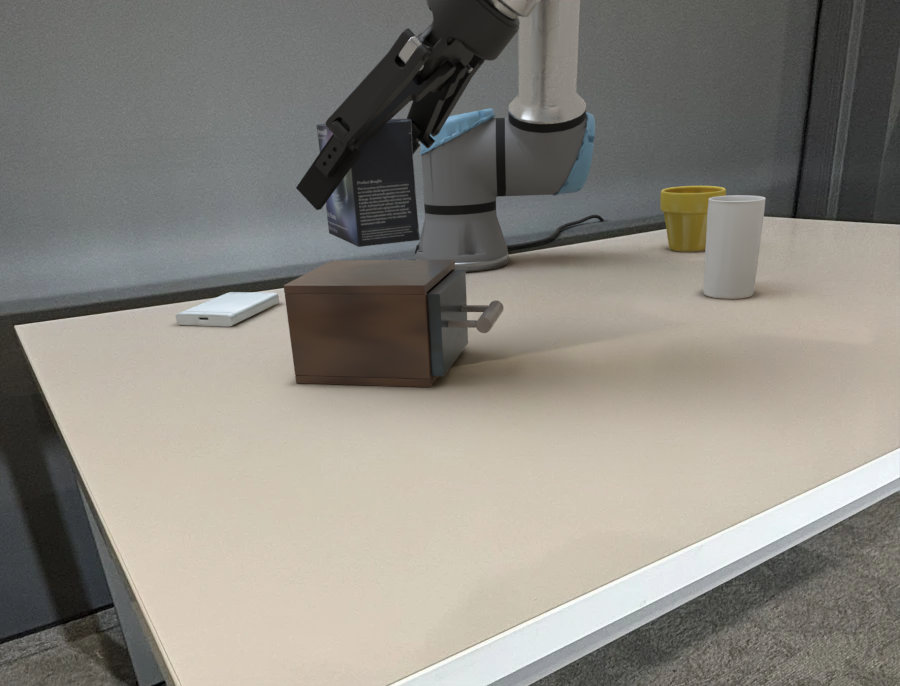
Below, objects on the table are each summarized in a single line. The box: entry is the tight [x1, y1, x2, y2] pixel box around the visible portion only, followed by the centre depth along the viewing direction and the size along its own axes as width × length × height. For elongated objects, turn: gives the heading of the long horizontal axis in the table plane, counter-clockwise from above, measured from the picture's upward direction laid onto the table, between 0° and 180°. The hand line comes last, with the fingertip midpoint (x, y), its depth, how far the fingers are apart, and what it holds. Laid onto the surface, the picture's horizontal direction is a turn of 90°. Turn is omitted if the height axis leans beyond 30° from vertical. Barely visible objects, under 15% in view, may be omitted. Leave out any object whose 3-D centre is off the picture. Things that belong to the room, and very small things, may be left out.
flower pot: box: [659, 185, 727, 253], centre depth 134 cm, size 10×10×10 cm
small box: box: [316, 118, 421, 248], centre depth 75 cm, size 11×6×10 cm, turn 23°
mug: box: [702, 194, 767, 300], centre depth 103 cm, size 10×7×12 cm, turn 149°
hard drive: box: [175, 291, 280, 328], centre depth 106 cm, size 2×8×12 cm
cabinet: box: [283, 259, 455, 388], centre depth 80 cm, size 14×13×10 cm
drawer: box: [427, 270, 505, 377], centre depth 79 cm, size 17×11×8 cm
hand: (342, 191), depth 76 cm, fingers closed on small box, 11 cm apart
